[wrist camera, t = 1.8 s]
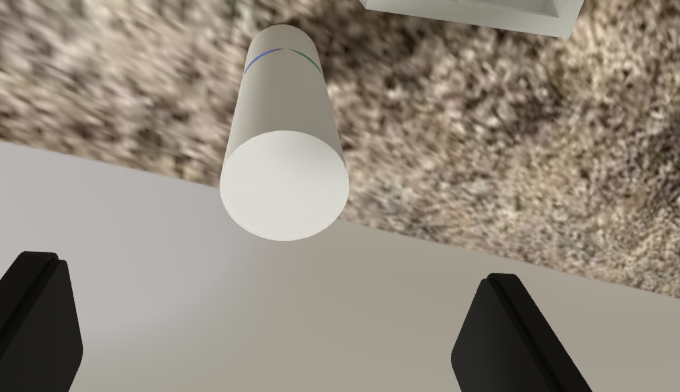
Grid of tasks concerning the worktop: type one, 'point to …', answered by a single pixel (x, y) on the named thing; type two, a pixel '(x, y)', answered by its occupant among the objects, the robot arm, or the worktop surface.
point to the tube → (283, 142)
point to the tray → (492, 13)
